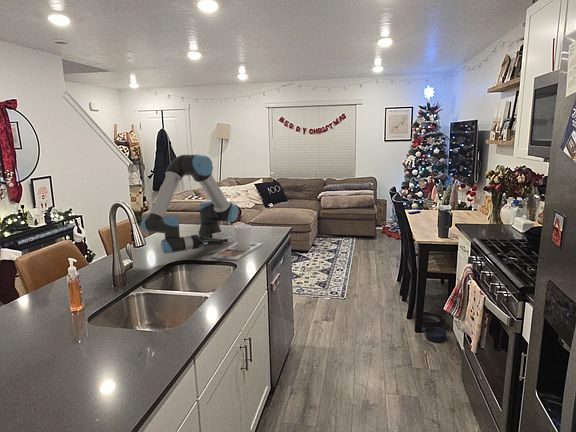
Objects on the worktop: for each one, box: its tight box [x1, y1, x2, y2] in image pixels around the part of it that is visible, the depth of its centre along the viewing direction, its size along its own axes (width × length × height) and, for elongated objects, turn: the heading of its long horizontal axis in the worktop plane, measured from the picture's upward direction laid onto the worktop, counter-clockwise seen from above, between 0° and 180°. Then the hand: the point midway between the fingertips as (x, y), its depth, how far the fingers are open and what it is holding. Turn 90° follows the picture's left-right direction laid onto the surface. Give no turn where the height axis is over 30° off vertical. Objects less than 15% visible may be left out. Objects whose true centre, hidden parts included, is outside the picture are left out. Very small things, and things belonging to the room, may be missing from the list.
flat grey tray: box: [210, 241, 263, 261], centre depth 220 cm, size 31×16×1 cm, turn 158°
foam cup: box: [234, 224, 252, 250], centre depth 225 cm, size 10×9×13 cm
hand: (227, 236), depth 219 cm, fingers open, 13 cm apart
